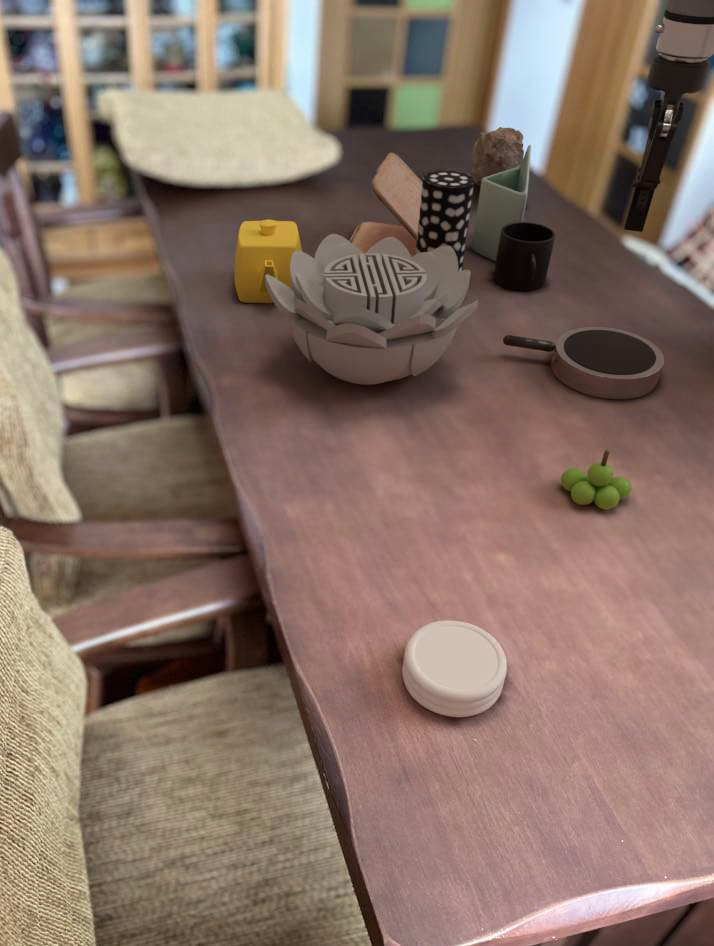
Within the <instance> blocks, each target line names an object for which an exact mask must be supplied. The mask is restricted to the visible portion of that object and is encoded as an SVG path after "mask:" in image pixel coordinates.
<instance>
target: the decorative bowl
mask: <svg viewBox="0 0 714 946" xmlns="http://www.w3.org/2000/svg"><path fill="white" fill-rule="evenodd" d="M470 279H471V270H469V269H462V271H460V272H458V260H457V255H456V253H455V251H454V249H453V248H452V247H451V246H442V247H439V248H436V249H434V250H432V251H431V252H422V253H418V254H416V255H414V256H413V257H411V255H410V253H409V252H408V250H407V249H406V247H405V246H404V245H403V244H402V242H400V241H399V240H398V239H396V238H394V237H387V238H384V239H382V240H380V241H379V242H377V243H376V244H374V245H373V246H372V247H371V248H370V249H369V250H368V251H367V252H366V254H364V253H363V252H362V251H361V250H360V249H358V248H357V247H356V246H354V245H353V244H352V243H351V242H350V241H349V240H348V239H347V238H345V237H344V236H343V235H340V234H338V233H330V234H328V235H327V236H325V238H323V239H322V241H321V242H320V243H319V245H318V247H317V248H316V251H315V253H314V257H312V256H311V255H309V254H308V253H306V252H303V251H302V252H300V251H296V252H294V253H293V255H292V258H291V264H290V280H291V286H292V289H291V288H290V287H288V286H287V285H285V284H283V283H282V282H280V281H279V280H277V279H275V278H274V277H272V276H270V275H266V276H265V285H266V287H267V290H268V292H269V294H270V296H271V298H272V300H273V302H274V303H273V304H274V305H275V307H276V309H278V310H279V312H280V313H281V314H282V315H283V316H284V317H285V318H287V322H288V326H289V329H290V332H291V335H292V337H293V339H294V341H295V343H296V345H297V347H298V349H299V350H300V352H301V353H302V354H303V355H304V357H305V358H306V359H307V360H308V361H309V362H310V363H312V362H315V363H316V364H317V365H319V366H320V367H321V368H322V369H323V370H324V371H325V372H327V373H328V374H330V375H331V376H333V377H335V378H337V379H339V380H342V381H344V382H348V383H351V384H357V385H365V386H367V385H379V384H383V383H386V382H392V381H397V380H400V379H403V378H406V377H408V376H411V375H412V376H413V377H416V376H419V375H420V374H422V373H423V372H425V371H427V370H428V369H429V368H431V367H432V366H433V365H434V364H436V362H437V361H439V359H440V358H441V357H442V356H443V355H444V354H445V352H446V351H447V350H448V348H449V346H450V345H451V343H452V342H453V340H454V337H455V335H456V332H457V330H458V327H459V326H460V325H461V324H462V323H463V322H465V320H467V319H468V318H469V316H471V315H472V314H473V313H474V312H475V311H476V310H477V309H478V304H479V299H477V300H476V301H474V302H471V303H470V304H467V305H465V306H462V307H461V305H462V303H464V302H463V301H464V300H465V298H466V295H467V293H468V290H469V286H470Z"/></svg>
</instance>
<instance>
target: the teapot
mask: <svg viewBox="0 0 714 946" xmlns="http://www.w3.org/2000/svg"><path fill="white" fill-rule="evenodd" d="M296 251H300V252H303V250H302V245H301V238H300V234H299V228H298V225H297V223H296V222H295V221H291V220H274V219H268V218H267V219H263V220H244V221H243V222H242V223H241V225H240V227H239V230H238V235H237V240H236V246H235V255H234V266H233V267H234V269H233V271H234V272H233V273H234V274H233V275H234V286H235V290H236V295H237V298H238V299H239V302H241V303H244V304H245V303H248V304H274V302H273V300H272V298H271V296H270V294H269V292H268V290H267V287H266V285H265V276H266V275H270V276H272V277H274V278H275V279H277V280H279V281H280V282H282V283H283V284H285V285H287V286H288V287H290V288H291V289H292V286H291V280H290V264H291V258H292V255H293V253H294V252H296Z"/></svg>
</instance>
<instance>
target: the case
mask: <svg viewBox="0 0 714 946" xmlns="http://www.w3.org/2000/svg"><path fill="white" fill-rule="evenodd" d="M422 184H423V180H421V179H420V178H419V177H418V175H417V174H415V172H414V171H413V170H412V169H411V168H410V167H409V166H408V165H407V164H406V162H404V161H403V159H402V158H401V157H400V156H399V155H398V154H396V153H394V152H388V154H387V155H386V157H385V158H384V160H382V162H381V163H380V164H379V165H378V167H377V168H376V170H375V175H374V177H373V179H372V181H371V185H372V190H373V192H374V194H375V195H376V197H377V198H378V200H380V202H381V203H382V205H384V206H385V207H386V208H387V209H388V211H389V212H390V213H391V214H392V215H393V216H394V218H395V219H396V220H397V221H398V222H399V224H391V223H382V222H375V221H363V222H361V223H360V224H359V225H357V227H355V229H354V231H353V233H352V235H351V236H350V239H349V240H348V241H350V242H351V243H352V244H353V245H354V246H356V247H357V248H358V249H360V250H361V251H362V252H363V253H364V254H366V252H367V251H368V250H369V249H370V248H371V247H372V246H373V245H374V244H376V243H377V242H379V241H380V240H382V239H384V238H387V237H394V238H396V239H398V240H399V241H400V242H402V244H403V245H404V246H405V247H406V249H407V250H408V252H409V253H410V255H411V257H413V256H414V255H415V253H416V243H417V233H418V223H419V214H420V204H421V194H422Z"/></svg>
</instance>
